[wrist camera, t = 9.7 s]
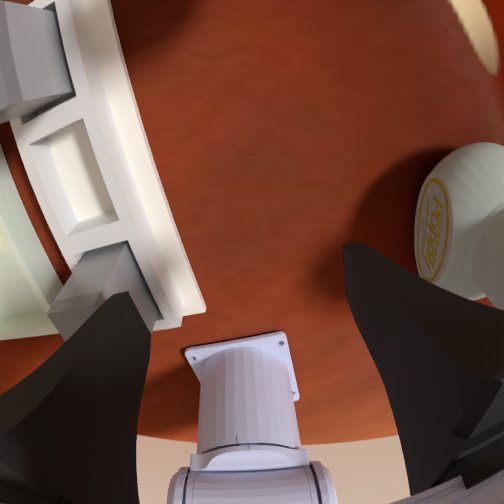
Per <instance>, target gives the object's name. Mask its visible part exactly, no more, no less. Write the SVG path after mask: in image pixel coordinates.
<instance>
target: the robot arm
mask: <svg viewBox="0 0 504 504" xmlns="http://www.w3.org/2000/svg"><path fill="white" fill-rule="evenodd" d="M342 247H343V259H344V272H345V287H346V297H347V300H348V303H349V306H350V309H351V312H352V315H353V318H354V320H355V323H356V325H357V327H358V329H359V331H360V333H361V335H362V337H363V339H364V341H365V343H366V346H367V348H368V350H369V352H370V354H371V356H372V358H373V360H374V362H375V364H376V367H377V369H378V371H379V373H380V376H381V378H382V381H383V383H384V386H385V389H386V392H387V395H388V399H389V402H390V405H391V408H392V412H393V415H394V419H395V423H396V426H397V430H398V434H399V438H400V442H401V446H402V451H403V455H404V460H405V465H406V470H407V476H408V482H409V488H410V495H411V497H408V498H405V499H402V500H400V501H396V502H393V503H390V504H504V310H501V309H497V308H494V307H490V306H487V305H484V304H481V303H478V302H475V301H472V300H470V299H467V298H464V297H462V296H459V295H457V294H454V293H452V292H450V291H448V290H445V289H443V288H441V287H439V286H437V285H435V284H432V283H430V282H429V281H427V280H425V279H423V278H421V277H419V276H417V275H415V274H414V273H412V272H410V271H408V270H407V269H405V268H403V267H402V266H400V265H398V264H397V263H395V262H393V261H392V260H390V259H388V258H387V257H385V256H384V255H382V254H380V253H379V252H377V251H376V250H374V249H372V248H371V247H369V246H368V245H366V244H364V243H363V242H361V241H360V242H355V243H351V244H346V245H342ZM280 341H283V342H280ZM150 346H151V333H150V331H149V329H148V327H147V326H146V324H145V322H144V320H143V318H142V317H141V315H140V313H139V311H138V309H137V307H136V305H135V303H134V302H133V300H132V298H131V296H130V294H129V292H128V291H126V292H121V293H116V294H113V295H112V296H110V297H109V298H108V299H107V300H106V301H105V302H104V303H103V304H102V305H101V306H100V307H99V308H98V309H97V310H96V311H95V312H94V313H93V314H92V315H91V316H90V317H89V318H88V319H87V320H86V321H85V322H84V323H83V324H82V325H81V326H80V327H79V328H78V330H77V331H76V332H75V333H74V334H73V335H72V336H71V337H70V338H69V339H68V340H67V341H66V342H65V343H64V344H63V345H62V346H61V347H60V348H59V349H58V350H57V351H56V352H55V353H54V354H53V355H52V356H51V357H50V358H48V359H47V360H46V361H45V362H44V363H43V364H42V365H41V366H39V367H38V368H37V369H36V370H35V371H34V372H32V373H31V374H30V375H28V376H27V377H26V378H24V379H23V380H22V381H20V382H19V383H18V384H17V385H15V386H14V387H13V388H11V389H10V390H8V391H7V392H5V393H4V394H2V395H0V504H140V503H139V496H138V487H137V471H136V439H137V422H138V415H139V409H140V403H141V398H142V393H143V389H144V384H145V379H146V374H147V369H148V364H149V358H150ZM185 356H186V358H187V360H188V362H189V364H190V365H191V367H192V369H193V371H194V373H195V374H196V376H197V378H198V380H199V381H200V383H201V389H200V404H199V421H198V440H197V454H191V459H190V467H181V468H180V469H179V470H178V472H177V473H176V474H175V475H174V476H173V477H172V479H171V481H170V484H169V489H168V496H167V504H338V501H337V494H336V489H335V485H334V482H333V478H332V476H331V474H330V472H329V470H328V469H327V468H326V467H325V466H323V465H322V464H321V463H320V462H319V461H310V462H309V458H308V451H307V449H301V444H300V438H299V432H298V425H297V419H296V413H295V407H294V401H297V400H298V399H299V393H298V388H297V384H296V379H295V374H294V370H293V365H292V360H291V356H290V351H289V347H288V342H287V338H286V334H285V333H284V332H281V331H280V332H274V333H269V334H264V335H259V336H254V337H248V338H243V339H238V340H232V341H226V342H221V343H215V344H209V345H203V346H196V347H190V348H187V349H186V350H185ZM194 357H195V358H194Z"/></svg>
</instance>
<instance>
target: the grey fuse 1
mask: <svg viewBox="0 0 504 504" xmlns="http://www.w3.org/2000/svg"><path fill="white" fill-rule="evenodd" d="M75 94H76V92H75V89H74V85H73V81H72V78H71V74H70V70H69V66H68V62H67V58H66V53H65V49H64V45H63V40H62V36H61V31H60V26H59V21H58V16H57V12H53V11H49V10H45V9H41V8H37V7H32V6H28V5H23V4H18V3H12V2H7V1H1V0H0V124H1V123H4V122H7V121H10V120H13V119H16V118H19V117H23V116H26V115H29V114H33V113H36V112H40V111H43V110H45V109H47V108H49V107H51V106H53V105H55V104H57V103H59V102H61V101H63V100H65V99H67V98H69V97H71V96H73V95H75Z"/></svg>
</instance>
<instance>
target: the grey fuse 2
mask: <svg viewBox="0 0 504 504" xmlns="http://www.w3.org/2000/svg"><path fill="white" fill-rule="evenodd" d="M126 291H128V292H129V294H130V296H131V298H132V300H133V302H134V303H135V305H136V307H137V309H138V311H139V313H140V315H141V317H142V318H143V320H144V322H145V324H146V326H147V327H148V329H149V331H150V333H151V335H152V332H153V328H154V324H155V320H156V316H157V312H158V309H159V307H158V305H157V303H156V301H155V299H154V297H153V295H152V293H151V290H150V288H149V286H148V284H147V282H146V280H145V278H144V275H143V273H142V271H141V269H140V267H139V265H138V262H137V260H136V258H135V256H134V253H133V251H132V249H131V246H130V244H129V242H128V240H126V241H122V242H118V243H114V244H111V245H107V246H103V247H100V248H96V249H92V250H89V251H87V252H86V254H85V255H84V257H83V258H82V259H81V261H80V262H79V264H78V265H77V267H76V268H75V270H74V271H73V273H72V274H71V276H70V277H69V279H68V280H67V282H66V283H65V285H64V286H63V288H62V289H61V291H60V293H59V294H58V296H57V297H56V299H55V300H54V302H53V304H52V305H51V307H50V309H49V310H48V312H47V315H48V317H49V319H50V320H51V322H52V323H53V325H54V326H55V327H56V329H57V330H58V332H59V333H60V335H61V336H62V338H63V339H64V340H65V342H66V341H67V340H68V339H69V338H70V337H71V336H72V335H73V334H74V333H75V332H76V331H77V330H78V328H79V327H80V326H81V325H82V324H83V323H84V322H85V321H86V320H87V319H88V318H89V317H90V316H91V315H92V314H93V313H94V312H95V311H96V310H97V309H98V308H99V307H100V306H101V305H102V304H103V303H104V302H105V301H106V300H107V299H108V298H109V297H110V296H112V295H113V294H116V293H121V292H126Z"/></svg>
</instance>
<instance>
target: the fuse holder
mask: <svg viewBox="0 0 504 504" xmlns="http://www.w3.org/2000/svg"><path fill="white" fill-rule="evenodd" d="M28 6H32V7H37V8H41V9H45V10H49V11H53V12H57V16H58V21H59V26H60V31H61V36H62V40H63V45H64V49H65V53H66V58H67V62H68V66H69V70H70V74H71V78H72V81H73V85H74V89H75V92H76V94H75V95H73V96H71V97H69V98H67V99H65V100H63V101H61V102H59V103H57V104H55V105H53V106H51V107H49V108H47V109H45V110H43V111H40V112H36V113H33V114H29V115H26V116H23V117H19V118H16V119H13V120H10V124H11V128H12V131H13V134H14V137H15V140H16V143H17V147H18V150H19V152H20V155H21V158H22V161H23V164H24V167H25V169H26V172H27V175H28V177H29V180H30V183H31V185H32V188H33V190H34V193H35V195H36V198H37V200H38V202H39V205H40V207H41V209H42V212H43V214H44V216H45V219H46V221H47V223H48V225H49V227H50V230H51V232H52V234H53V236H54V238H55V240H56V242H57V244H58V246H59V248H60V250H61V252H62V254H63V256H64V258H65V260H66V262H67V264H68V266H69V268H70V270H71V272H72V273H73V271H74V270H75V268H76V267H77V265H78V264H79V262H80V261H81V259H82V258H83V257H84V255H85V254H86V252H87V251H89V250H92V249H96V248H100V247H103V246H107V245H111V244H114V243H118V242H122V241H126V240H128V242H129V244H130V246H131V249H132V251H133V253H134V256H135V258H136V260H137V262H138V265H139V267H140V269H141V271H142V273H143V275H144V278H145V280H146V282H147V284H148V286H149V288H150V290H151V293H152V295H153V297H154V299H155V301H156V303H157V305H158V307H159V309H158V312H157V316H156V320H155V324H154V328H153V331H156V330H163V329H169V328H175V327H181V322H182V316H187V315H192V314H198V313H203V312H206V305H205V302H204V300H203V297H202V294H201V292H200V289H199V287H198V284H197V282H196V279H195V276H194V274H193V271H192V268H191V266H190V263H189V260H188V258H187V255H186V252H185V250H184V247H183V244H182V241H181V239H180V236H179V233H178V230H177V227H176V225H175V222H174V219H173V216H172V213H171V210H170V207H169V205H168V202H167V199H166V196H165V193H164V190H163V187H162V184H161V181H160V178H159V175H158V172H157V169H156V166H155V162H154V159H153V156H152V153H151V150H150V147H149V143H148V140H147V137H146V134H145V130H144V127H143V124H142V120H141V117H140V114H139V110H138V107H137V103H136V100H135V96H134V93H133V89H132V86H131V82H130V78H129V75H128V71H127V67H126V64H125V60H124V56H123V52H122V48H121V44H120V40H119V36H118V32H117V28H116V24H115V19H114V15H113V11H112V6H111V2H110V0H35V1H33V2H32V3H30V4H29V5H28Z"/></svg>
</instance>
